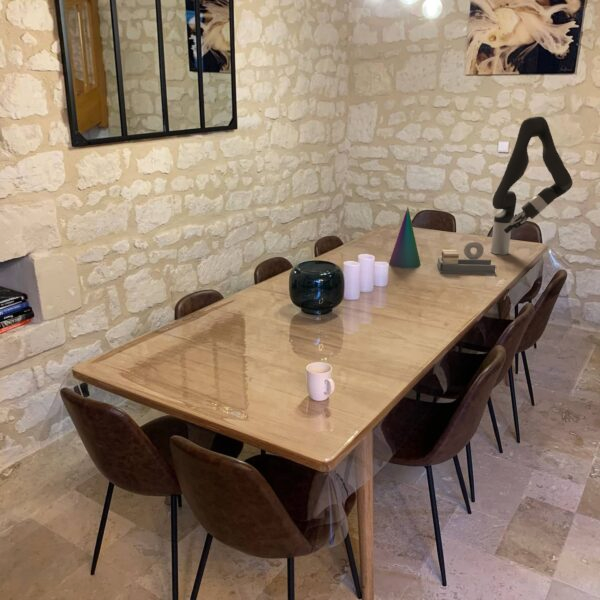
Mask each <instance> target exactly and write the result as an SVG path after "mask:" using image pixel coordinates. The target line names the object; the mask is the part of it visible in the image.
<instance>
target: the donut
mask: <svg viewBox="0 0 600 600" xmlns="http://www.w3.org/2000/svg"><path fill="white" fill-rule="evenodd" d="M473 248H475V249H476V252H475V253H472V252H471V249H473ZM463 253H464V256H465V257H466V258H467V259H481V258H482V256H483V254H484V245H483V244H482V243H480V242H479V241H476V240H471V241H468V242H467V243H466V244H465V246H464V248H463Z"/></svg>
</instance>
